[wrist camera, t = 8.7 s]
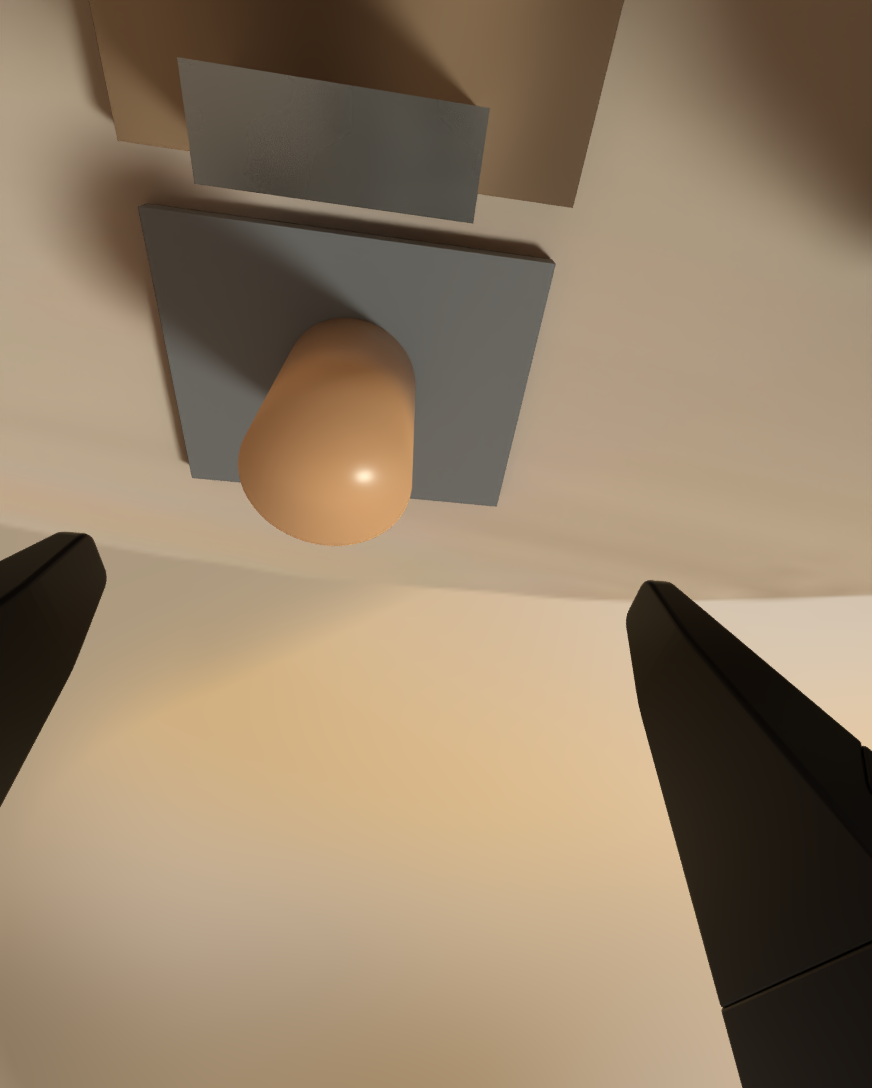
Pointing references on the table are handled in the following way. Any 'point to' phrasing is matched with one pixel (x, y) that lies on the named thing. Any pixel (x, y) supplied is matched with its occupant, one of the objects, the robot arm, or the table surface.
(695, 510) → the table surface
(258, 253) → the pad
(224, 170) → the clamp jaws
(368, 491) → the orange-tan rounded capsule
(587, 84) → the board
